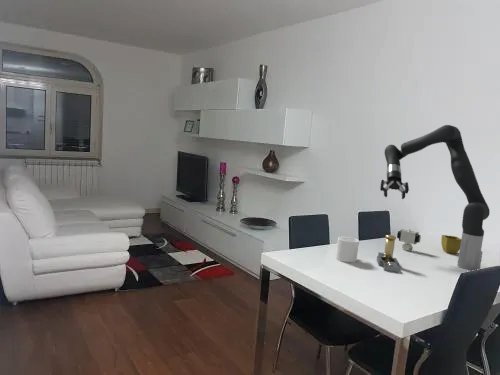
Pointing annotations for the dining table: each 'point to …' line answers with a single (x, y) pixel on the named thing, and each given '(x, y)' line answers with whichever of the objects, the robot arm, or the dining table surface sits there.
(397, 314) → the dining table surface
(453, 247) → the flower pot
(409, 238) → the pneumatic valve
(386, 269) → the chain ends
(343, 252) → the mug
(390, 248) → the brass pin
